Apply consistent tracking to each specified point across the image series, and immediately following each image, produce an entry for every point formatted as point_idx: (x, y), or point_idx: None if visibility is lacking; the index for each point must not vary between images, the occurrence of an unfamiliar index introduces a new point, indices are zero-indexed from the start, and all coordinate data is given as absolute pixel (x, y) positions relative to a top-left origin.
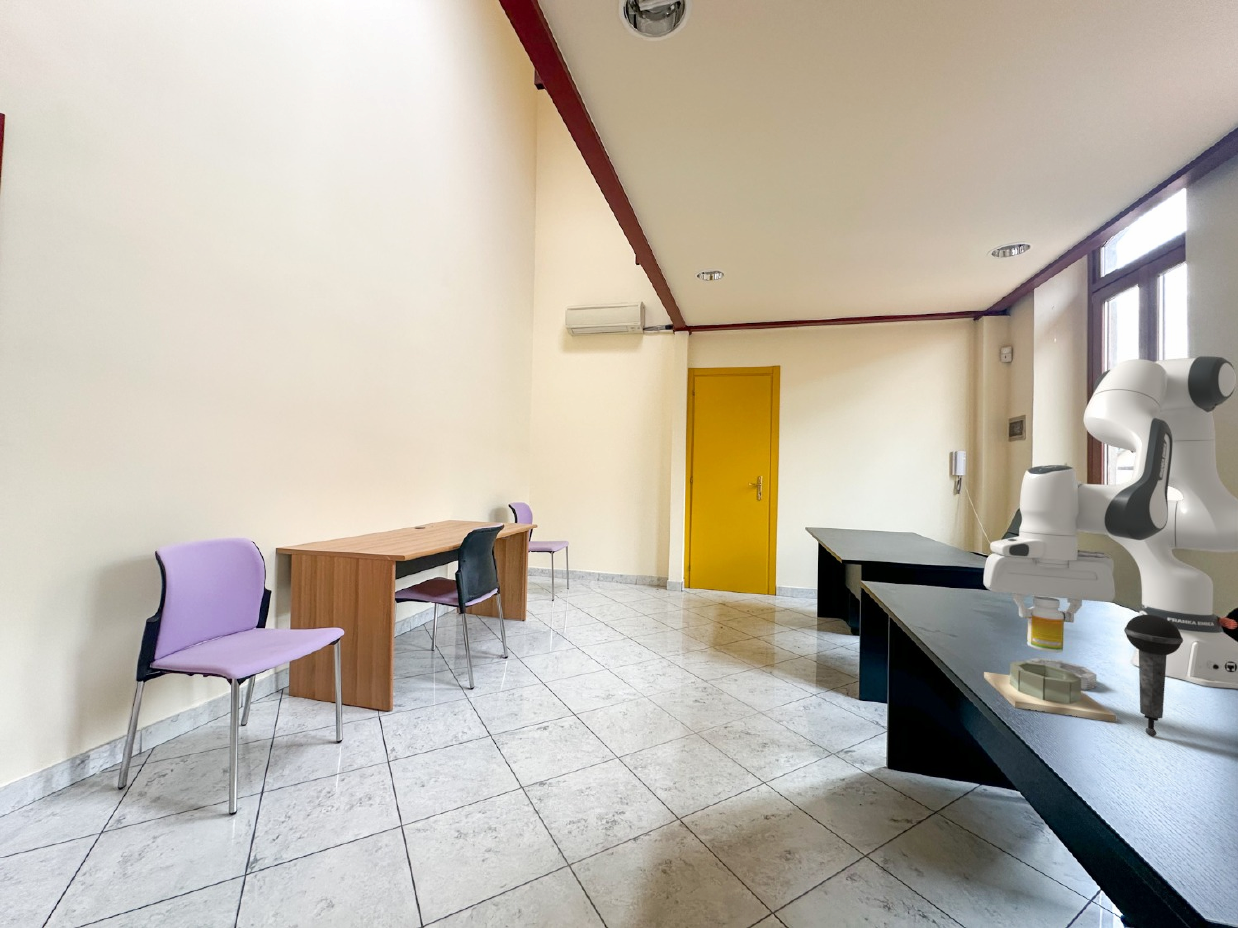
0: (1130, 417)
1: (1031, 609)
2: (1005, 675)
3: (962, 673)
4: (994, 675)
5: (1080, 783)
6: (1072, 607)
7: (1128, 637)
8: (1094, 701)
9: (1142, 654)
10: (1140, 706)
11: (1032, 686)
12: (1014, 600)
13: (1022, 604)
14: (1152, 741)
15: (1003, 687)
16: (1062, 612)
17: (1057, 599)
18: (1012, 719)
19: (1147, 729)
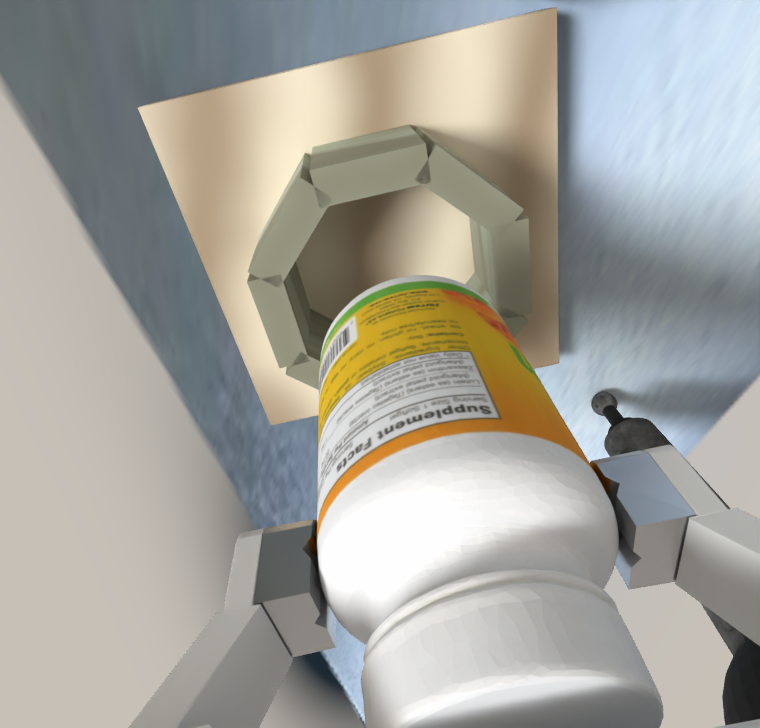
0: None
1: (338, 620)
2: (243, 101)
3: (40, 98)
4: (192, 142)
5: (349, 655)
6: (757, 612)
7: (730, 722)
8: (550, 257)
9: (726, 641)
10: (614, 452)
11: None
12: (158, 694)
13: (247, 720)
14: (578, 432)
15: (235, 310)
16: (630, 546)
17: (654, 721)
18: (262, 494)
19: (597, 411)
